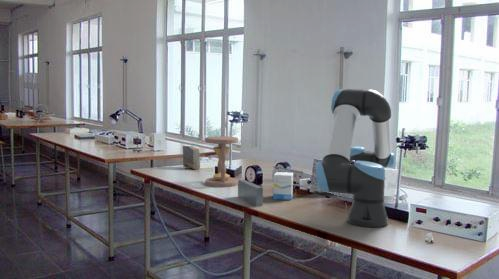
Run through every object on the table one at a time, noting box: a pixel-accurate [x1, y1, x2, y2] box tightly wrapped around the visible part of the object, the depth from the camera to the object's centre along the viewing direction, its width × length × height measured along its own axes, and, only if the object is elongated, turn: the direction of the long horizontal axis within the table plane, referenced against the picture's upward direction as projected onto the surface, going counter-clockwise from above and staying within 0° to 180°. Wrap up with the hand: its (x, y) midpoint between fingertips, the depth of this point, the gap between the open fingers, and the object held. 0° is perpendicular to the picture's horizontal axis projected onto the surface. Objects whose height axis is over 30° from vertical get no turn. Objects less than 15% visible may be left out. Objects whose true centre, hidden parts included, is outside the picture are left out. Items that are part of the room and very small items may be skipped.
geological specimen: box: [182, 145, 201, 170], centre depth 298 cm, size 11×6×15 cm, turn 45°
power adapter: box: [424, 232, 435, 243], centre depth 159 cm, size 3×3×3 cm
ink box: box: [272, 171, 294, 201], centre depth 221 cm, size 8×8×12 cm
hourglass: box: [204, 135, 239, 188], centre depth 251 cm, size 18×18×25 cm
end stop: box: [237, 179, 264, 207], centre depth 214 cm, size 20×5×8 cm, turn 25°
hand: (300, 182), depth 225 cm, fingers closed
